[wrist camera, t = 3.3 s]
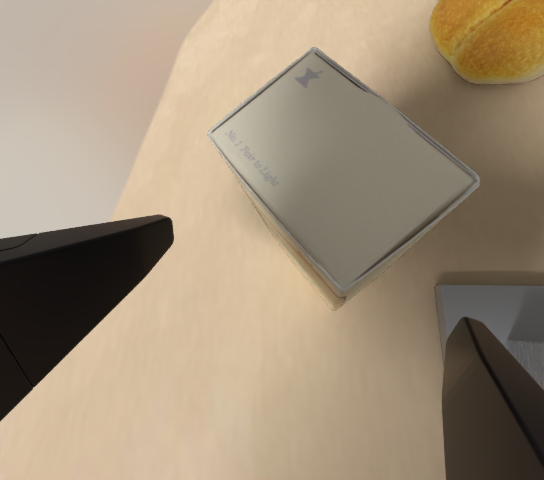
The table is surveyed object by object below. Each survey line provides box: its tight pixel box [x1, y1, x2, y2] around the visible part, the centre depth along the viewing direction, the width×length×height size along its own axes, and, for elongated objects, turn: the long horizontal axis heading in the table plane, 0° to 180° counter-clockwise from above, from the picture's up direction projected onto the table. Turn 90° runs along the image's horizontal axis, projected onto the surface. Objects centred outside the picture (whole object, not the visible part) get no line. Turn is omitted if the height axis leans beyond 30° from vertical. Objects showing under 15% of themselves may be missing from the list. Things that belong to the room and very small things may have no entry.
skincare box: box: [208, 47, 480, 311], centre depth 13 cm, size 6×4×12 cm
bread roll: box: [430, 0, 544, 84], centre depth 19 cm, size 8×9×4 cm
